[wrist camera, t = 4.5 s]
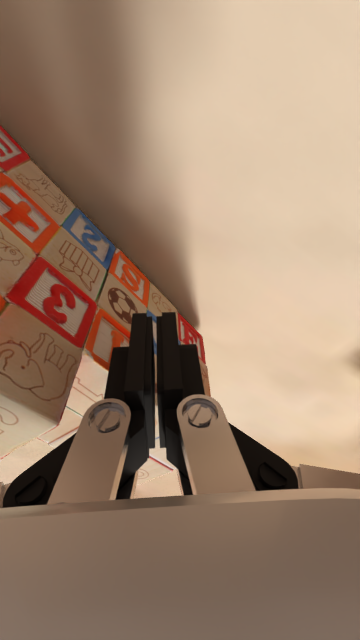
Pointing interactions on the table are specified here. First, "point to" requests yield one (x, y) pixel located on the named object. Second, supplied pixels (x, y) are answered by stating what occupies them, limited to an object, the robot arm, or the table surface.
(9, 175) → the stack of blocks
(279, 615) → the robot arm
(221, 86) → the table surface
